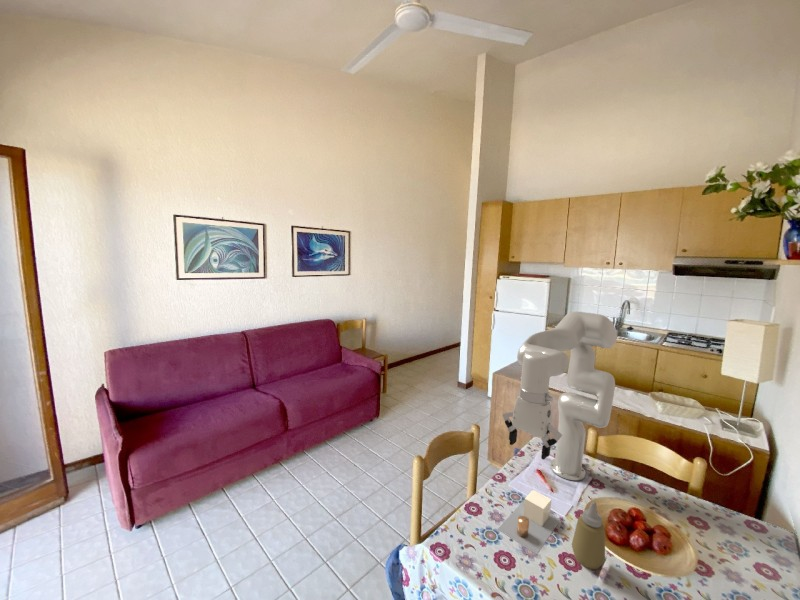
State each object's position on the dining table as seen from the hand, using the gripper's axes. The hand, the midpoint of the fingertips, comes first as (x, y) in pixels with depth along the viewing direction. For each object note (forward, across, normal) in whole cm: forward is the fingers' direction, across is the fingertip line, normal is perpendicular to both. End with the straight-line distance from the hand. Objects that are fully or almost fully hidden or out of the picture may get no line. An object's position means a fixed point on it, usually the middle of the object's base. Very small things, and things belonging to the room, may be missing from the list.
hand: (528, 450), depth 101 cm
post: (+26, -1, +2) cm, 26 cm away
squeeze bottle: (+27, -18, -3) cm, 32 cm away
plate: (+27, -1, -3) cm, 27 cm away
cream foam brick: (+25, -1, -8) cm, 27 cm away
